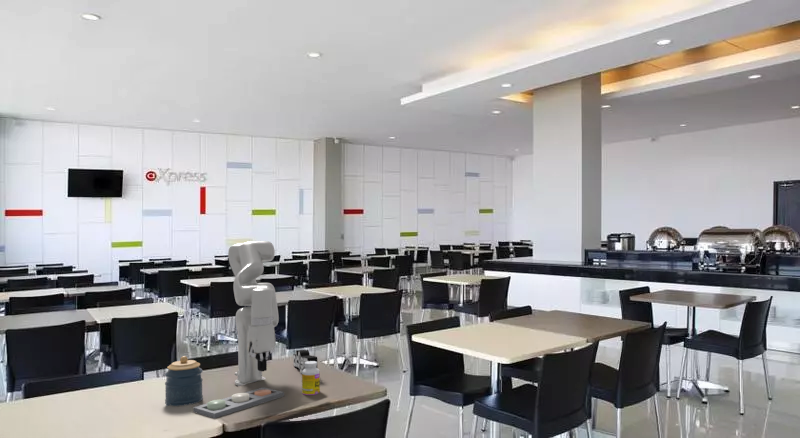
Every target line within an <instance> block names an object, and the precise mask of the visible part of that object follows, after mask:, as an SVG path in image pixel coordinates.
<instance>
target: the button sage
mask: <svg viewBox="0 0 800 438" xmlns="http://www.w3.org/2000/svg"><path fill="white" fill-rule="evenodd" d="M206 404H207V409H208V410H212V411H216V410H219V409H222V408H225V407H226V401H225V400H221V399H213V400H210V401H207V402H206Z"/></svg>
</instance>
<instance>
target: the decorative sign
mask: <svg viewBox="0 0 800 438" xmlns="http://www.w3.org/2000/svg"><path fill="white" fill-rule="evenodd" d="M292 359H293V367H294V368H298V369H299V374H300V375H302V371H303V370H304V369H305V362H308V361H316V362H317V363H318V356H315V355H311V354H310V350H309V349H299V350H295V353H292ZM316 368H318V365H317V366H316Z"/></svg>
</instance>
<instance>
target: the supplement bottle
mask: <svg viewBox="0 0 800 438" xmlns="http://www.w3.org/2000/svg"><path fill="white" fill-rule="evenodd" d="M316 366H317V368H316ZM320 381H321V379H320V369H319V368H318V361H317V362H316V361H308V362H305V369H304V370H303V371H302V374H301V385H302V386H301V393H302V394H303V395H304V396H315V395H318V394H320V393H321V384H320Z"/></svg>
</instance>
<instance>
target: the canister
mask: <svg viewBox="0 0 800 438" xmlns="http://www.w3.org/2000/svg"><path fill="white" fill-rule="evenodd" d="M200 366H201V363H200V362H197V360H194V359H189V358H188V357H187V356H186V355H183V356H181V357H180V359H179V360H178V361H174V362H171V364H169V365H168V366H167V371H166V372H165V373H164V375H165V377H166V380H165V382H164V385H165V398H164V401H165V403H164V404H165V407H168V406H172V407H179V406H181V407H182V406H189V405H194V404H197V403H200V402H201V401H203V399H204V395H203V382H204V381H203V380H204V379H203V377H202V373H203V371H204V370H203V369H202V368H201V367H200Z"/></svg>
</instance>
